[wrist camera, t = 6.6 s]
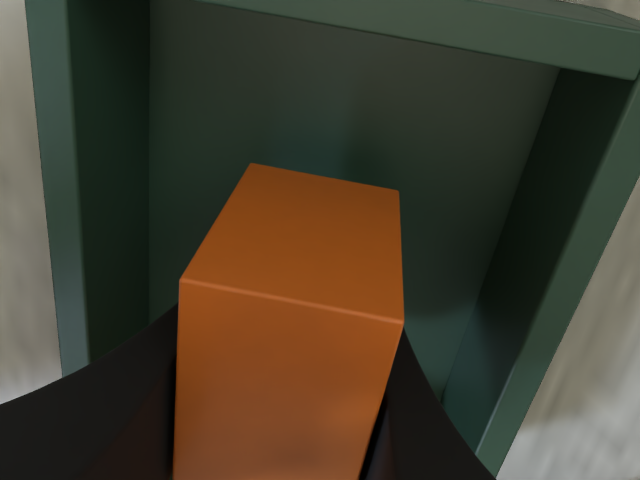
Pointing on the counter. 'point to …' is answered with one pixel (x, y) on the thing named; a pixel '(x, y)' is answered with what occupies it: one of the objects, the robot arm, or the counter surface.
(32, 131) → the counter surface
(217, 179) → the bin
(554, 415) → the counter surface
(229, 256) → the orange block
